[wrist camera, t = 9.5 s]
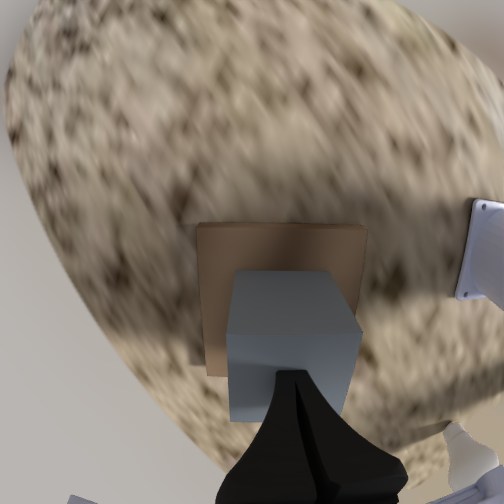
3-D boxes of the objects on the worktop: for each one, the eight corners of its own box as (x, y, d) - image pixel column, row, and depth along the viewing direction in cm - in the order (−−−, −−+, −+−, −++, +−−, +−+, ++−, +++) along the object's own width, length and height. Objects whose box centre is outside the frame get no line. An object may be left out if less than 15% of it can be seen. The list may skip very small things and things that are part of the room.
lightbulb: (468, 422, 26) (501, 481, 16) (429, 446, 27) (456, 510, 17) (469, 399, 24) (510, 465, 14) (425, 426, 25) (459, 499, 15)
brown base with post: (361, 225, 18) (402, 258, 13) (339, 364, 22) (358, 421, 16) (199, 222, 18) (175, 256, 13) (209, 365, 22) (198, 425, 16)
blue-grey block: (329, 271, 18) (363, 332, 12) (318, 346, 20) (339, 418, 14) (235, 270, 18) (226, 334, 12) (236, 346, 20) (230, 421, 14)
